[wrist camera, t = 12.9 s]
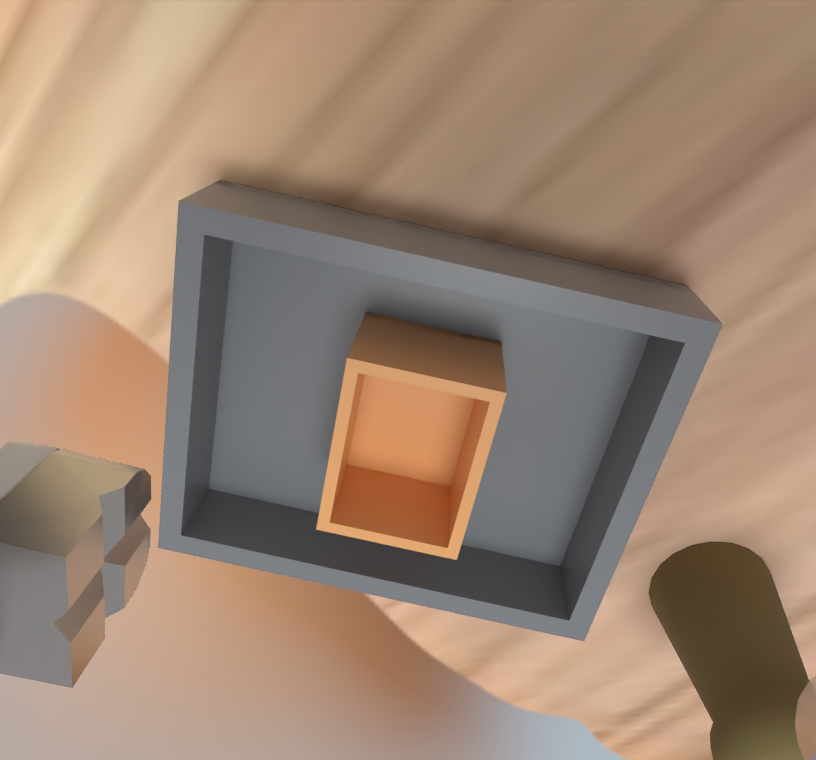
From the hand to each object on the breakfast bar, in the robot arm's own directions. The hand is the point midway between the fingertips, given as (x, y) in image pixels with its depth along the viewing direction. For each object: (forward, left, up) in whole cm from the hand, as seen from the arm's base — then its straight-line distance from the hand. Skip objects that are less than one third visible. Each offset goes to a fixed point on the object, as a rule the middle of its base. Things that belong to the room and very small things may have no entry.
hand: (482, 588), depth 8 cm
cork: (-16, +16, -23) cm, 32 cm away
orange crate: (+1, +9, -22) cm, 24 cm away
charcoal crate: (+1, +9, -23) cm, 24 cm away
